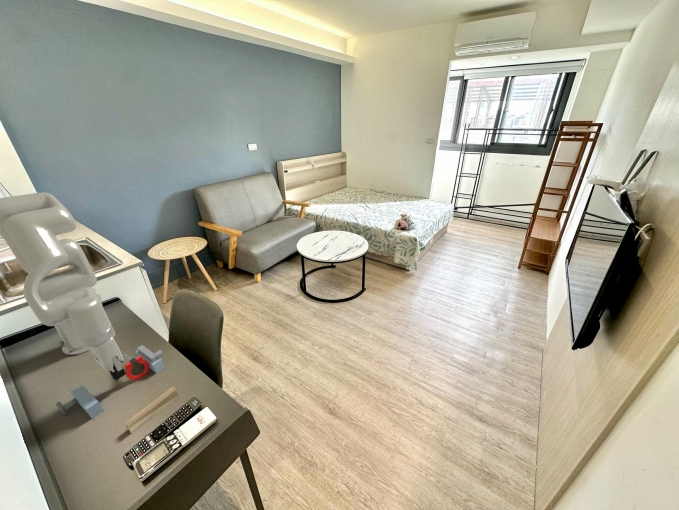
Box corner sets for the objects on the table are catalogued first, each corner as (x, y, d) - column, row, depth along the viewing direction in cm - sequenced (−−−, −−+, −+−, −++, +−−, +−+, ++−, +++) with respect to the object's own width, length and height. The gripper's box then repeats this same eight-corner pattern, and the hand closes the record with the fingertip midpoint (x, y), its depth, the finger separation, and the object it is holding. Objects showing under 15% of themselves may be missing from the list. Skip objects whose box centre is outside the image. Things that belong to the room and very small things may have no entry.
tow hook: (131, 384, 93) (122, 367, 90) (121, 375, 99) (112, 358, 96) (152, 370, 98) (144, 354, 95) (141, 362, 104) (133, 347, 101)
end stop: (128, 429, 79) (124, 423, 78) (174, 392, 90) (172, 386, 89) (131, 433, 79) (128, 427, 77) (178, 395, 89) (176, 389, 88)
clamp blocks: (59, 410, 85) (50, 397, 82) (151, 352, 106) (146, 340, 103) (75, 430, 79) (66, 417, 76) (169, 365, 100) (164, 352, 98)
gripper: (73, 333, 84) (96, 374, 92) (94, 352, 77) (117, 395, 85) (101, 319, 90) (121, 359, 98) (124, 336, 83) (143, 378, 91)
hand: (119, 376), depth 91 cm, fingers closed
